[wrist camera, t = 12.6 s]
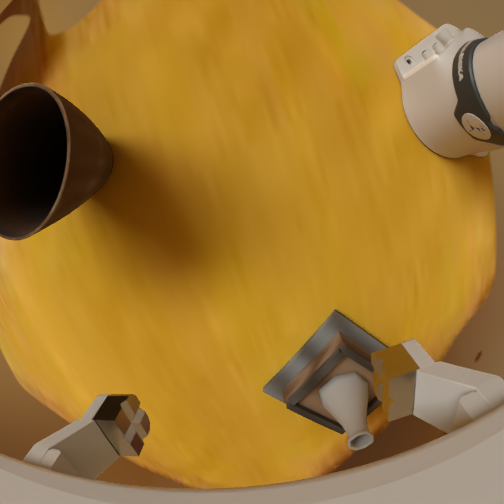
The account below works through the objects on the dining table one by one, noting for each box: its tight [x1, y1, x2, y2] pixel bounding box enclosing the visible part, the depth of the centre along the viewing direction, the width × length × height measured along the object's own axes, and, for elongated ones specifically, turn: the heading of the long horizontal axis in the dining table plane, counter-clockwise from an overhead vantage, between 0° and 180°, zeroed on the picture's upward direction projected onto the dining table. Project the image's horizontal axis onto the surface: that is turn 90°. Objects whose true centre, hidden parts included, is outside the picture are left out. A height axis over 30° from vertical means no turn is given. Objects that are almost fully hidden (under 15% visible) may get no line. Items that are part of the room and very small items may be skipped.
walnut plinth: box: [263, 309, 389, 434], centre depth 40 cm, size 16×16×5 cm
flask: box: [319, 371, 374, 451], centre depth 33 cm, size 7×7×10 cm
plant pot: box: [0, 83, 113, 240], centre depth 28 cm, size 15×15×16 cm
